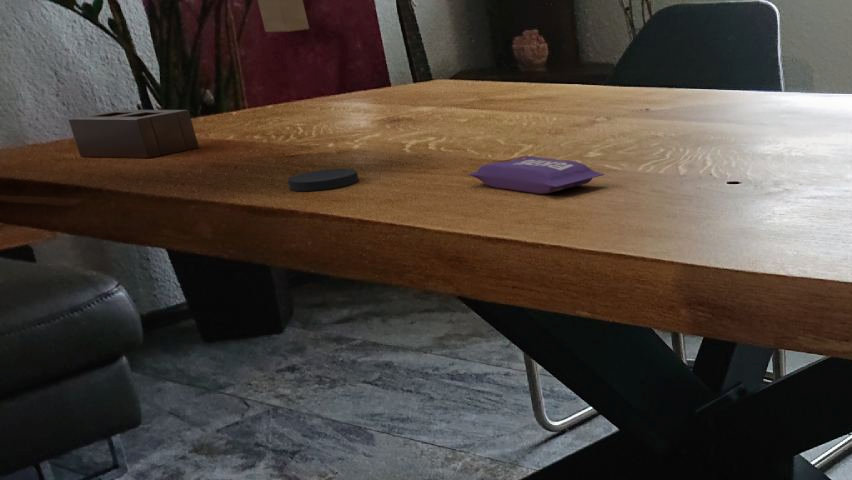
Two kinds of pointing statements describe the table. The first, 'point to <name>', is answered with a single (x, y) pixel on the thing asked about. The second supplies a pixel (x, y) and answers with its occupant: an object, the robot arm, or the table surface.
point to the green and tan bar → (283, 15)
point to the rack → (134, 133)
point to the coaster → (323, 180)
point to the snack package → (535, 174)
